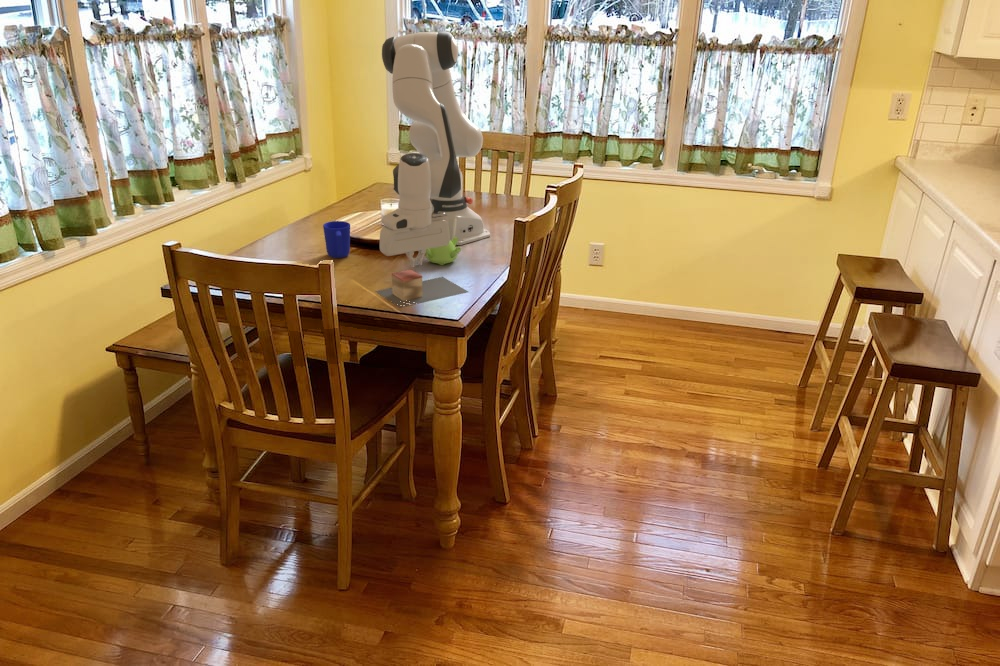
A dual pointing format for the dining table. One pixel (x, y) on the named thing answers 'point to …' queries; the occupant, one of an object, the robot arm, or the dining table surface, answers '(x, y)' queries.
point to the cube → (407, 285)
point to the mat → (426, 292)
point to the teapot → (443, 253)
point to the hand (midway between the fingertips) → (415, 265)
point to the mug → (337, 238)
